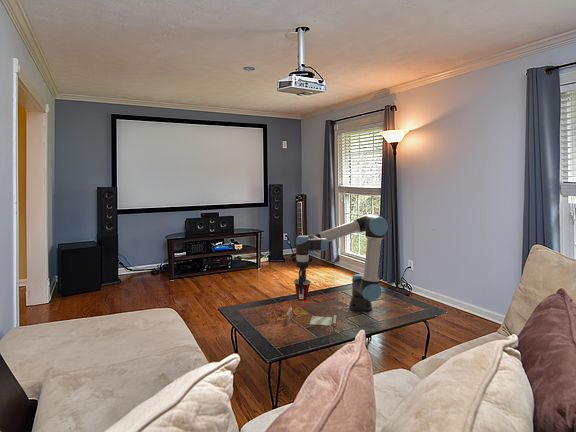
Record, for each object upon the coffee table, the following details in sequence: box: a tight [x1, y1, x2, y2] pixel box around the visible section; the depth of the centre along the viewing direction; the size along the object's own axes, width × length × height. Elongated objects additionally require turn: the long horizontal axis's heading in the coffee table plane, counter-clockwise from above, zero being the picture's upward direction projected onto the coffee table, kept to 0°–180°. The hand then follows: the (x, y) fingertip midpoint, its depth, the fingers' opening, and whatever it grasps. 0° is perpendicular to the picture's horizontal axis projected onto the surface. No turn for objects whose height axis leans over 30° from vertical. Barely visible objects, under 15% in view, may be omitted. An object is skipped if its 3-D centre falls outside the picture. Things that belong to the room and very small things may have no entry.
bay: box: [285, 307, 337, 327], centre depth 236 cm, size 30×13×5 cm, turn 80°
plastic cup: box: [293, 278, 312, 302], centre depth 235 cm, size 11×11×12 cm
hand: (302, 296), depth 236 cm, fingers closed on plastic cup, 9 cm apart
